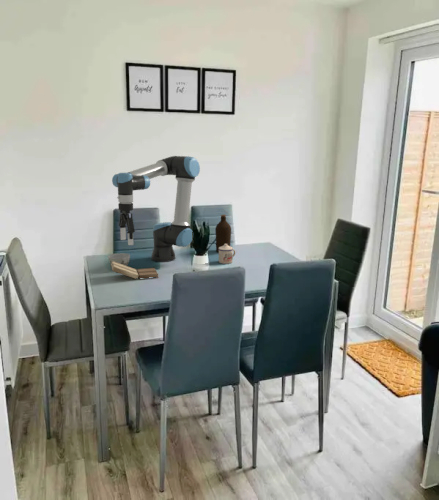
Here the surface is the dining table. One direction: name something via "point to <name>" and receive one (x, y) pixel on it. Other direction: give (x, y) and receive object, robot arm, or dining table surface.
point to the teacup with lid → (226, 254)
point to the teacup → (120, 258)
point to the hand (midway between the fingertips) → (127, 242)
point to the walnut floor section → (147, 272)
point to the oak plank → (124, 270)
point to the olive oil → (222, 233)
